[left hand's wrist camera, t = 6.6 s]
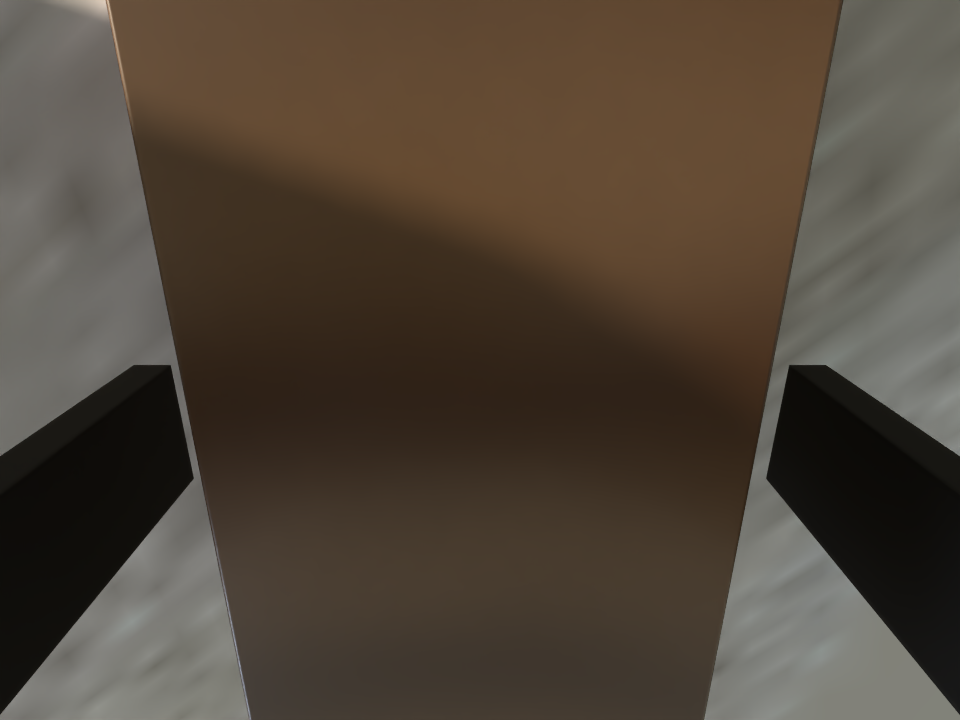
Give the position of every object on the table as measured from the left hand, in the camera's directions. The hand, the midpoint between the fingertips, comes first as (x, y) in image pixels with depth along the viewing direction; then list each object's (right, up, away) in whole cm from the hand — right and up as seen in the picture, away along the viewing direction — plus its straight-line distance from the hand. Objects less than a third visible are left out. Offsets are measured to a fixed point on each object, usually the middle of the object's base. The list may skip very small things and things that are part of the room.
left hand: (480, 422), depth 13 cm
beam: (0, +34, -10) cm, 35 cm away
